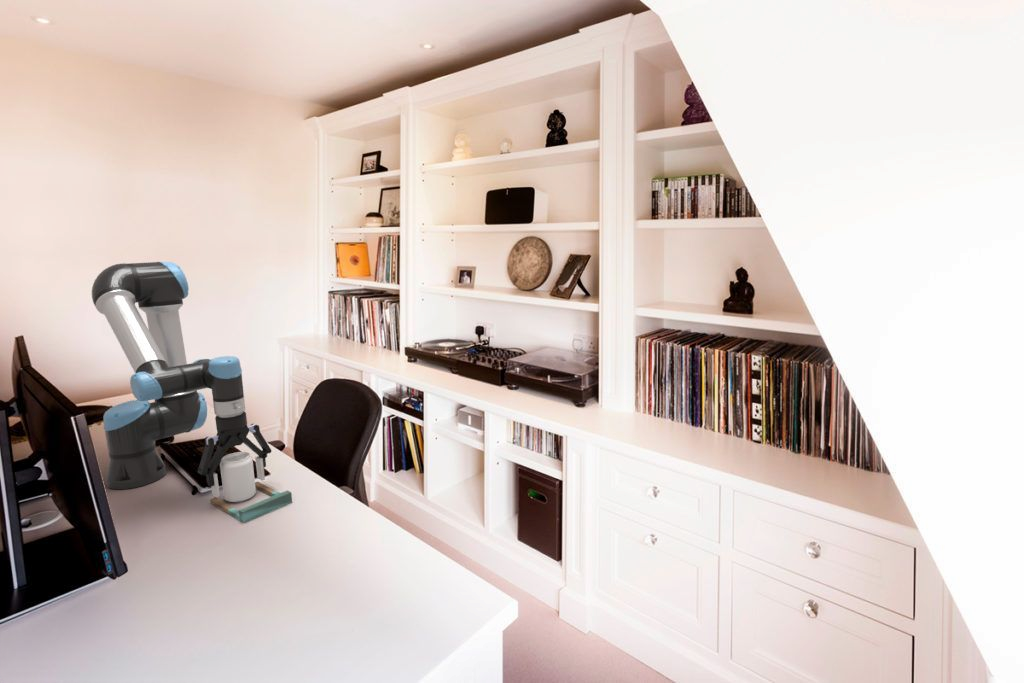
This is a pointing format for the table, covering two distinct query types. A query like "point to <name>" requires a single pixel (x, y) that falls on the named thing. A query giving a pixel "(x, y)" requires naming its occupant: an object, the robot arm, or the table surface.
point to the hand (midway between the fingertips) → (239, 487)
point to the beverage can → (237, 477)
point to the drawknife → (256, 504)
